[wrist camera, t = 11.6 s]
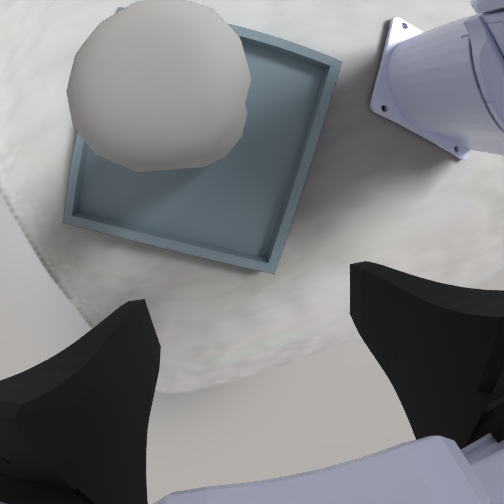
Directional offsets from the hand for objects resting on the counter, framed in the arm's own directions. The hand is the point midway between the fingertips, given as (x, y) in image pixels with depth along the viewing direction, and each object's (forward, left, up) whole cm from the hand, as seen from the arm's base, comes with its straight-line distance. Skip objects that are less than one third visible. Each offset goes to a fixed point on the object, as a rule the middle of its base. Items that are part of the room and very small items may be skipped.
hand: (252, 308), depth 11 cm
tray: (+4, -5, -10) cm, 12 cm away
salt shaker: (+4, -6, -10) cm, 12 cm away
